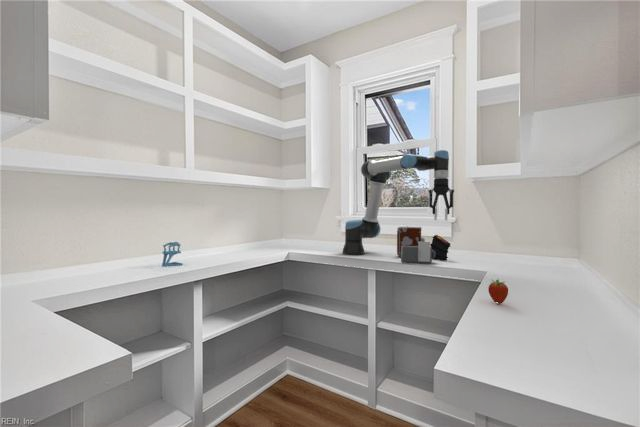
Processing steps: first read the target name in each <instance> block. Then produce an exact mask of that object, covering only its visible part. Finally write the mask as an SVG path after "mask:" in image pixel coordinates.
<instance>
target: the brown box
mask: <svg viewBox="0 0 640 427" xmlns="http://www.w3.org/2000/svg"><path fill="white" fill-rule="evenodd" d="M396 235H397V236H396V253H397V256H398V257H399V258H401V246H405V245H409V246H418V241H420V242H426V241H425V238H424V237H422V226H408V225H407V226H398V227H397V231H396Z"/></svg>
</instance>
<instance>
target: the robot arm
mask: <svg viewBox="0 0 640 427" xmlns="http://www.w3.org/2000/svg"><path fill="white" fill-rule="evenodd" d="M449 159H450V158H449V151H448V150H445V149H444V150H443V149H442V150H441V149H440V150H436V151H434V153H433V155H432V156H423V155H418V154H417V155H416V154H412V153H404V154H403V155H402V156H397V157H393V158H388V159H387V158H386V159H382V160H369V161H365V162H364V163H362V165H361V167H360V172H361V174H362V176H363V177H364V178H366V179H369V183H370V185H369V186H370V188H369V193H368V198H367V203H366V209H365V215H364V217H362V219H354V220H347V221H346V222H345V227H344V229H345V230H344V231H345V235H344V236H345V241H344V245H343V249H342V254H343V255H349V256H362V255H365V248H364V246H363V239H373V238H376V237H378V236H379V235H380V233H381V225H380V223H379V219H378V214H379V210H380V203H381V200H382V194H383V188H384V186H385V185H386V184H387V181H388V180H389V179H390V178H391V176H392V172H394V171H401V170H407V169H408V170H409V169H414V170H415V169H416V170H417V171H418V172H420V171H421V172H422V171H423V172H424V171H429V170H434V172H433V178H434V179H433V187H432V188H431V189H428V195H429V196H428V198H429V199H428V207H429V208H432V215H434V216H433V218H434V221H438V216H437V215H438V211H437V210H438V209H437V208H436V207H437V203H438V200H439V197H440V196H443V200H444V203H445V208H444V221H448V215H450V209H452V208H453V207H454V192H455V189H452V188H450V187H449V164H450V163H449ZM433 193H435V196H434V200H433ZM448 193H449V200H448V196H447V194H448Z"/></svg>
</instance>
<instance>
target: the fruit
mask: <svg viewBox="0 0 640 427" xmlns="http://www.w3.org/2000/svg"><path fill="white" fill-rule="evenodd" d="M499 279H500V278H499V277H498V278H497V279H496V280H493V279H491V282H490V284H489V285H488V293H489V294H488V295H489V296H490V297H491V299H492V300H493V302H494V303H495V302H498V303H501V304H503V303H504V302H505V301H506V299H507V297H508V295H509V287H508V286H507V284H505V281H502V282H500V280H499Z"/></svg>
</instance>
